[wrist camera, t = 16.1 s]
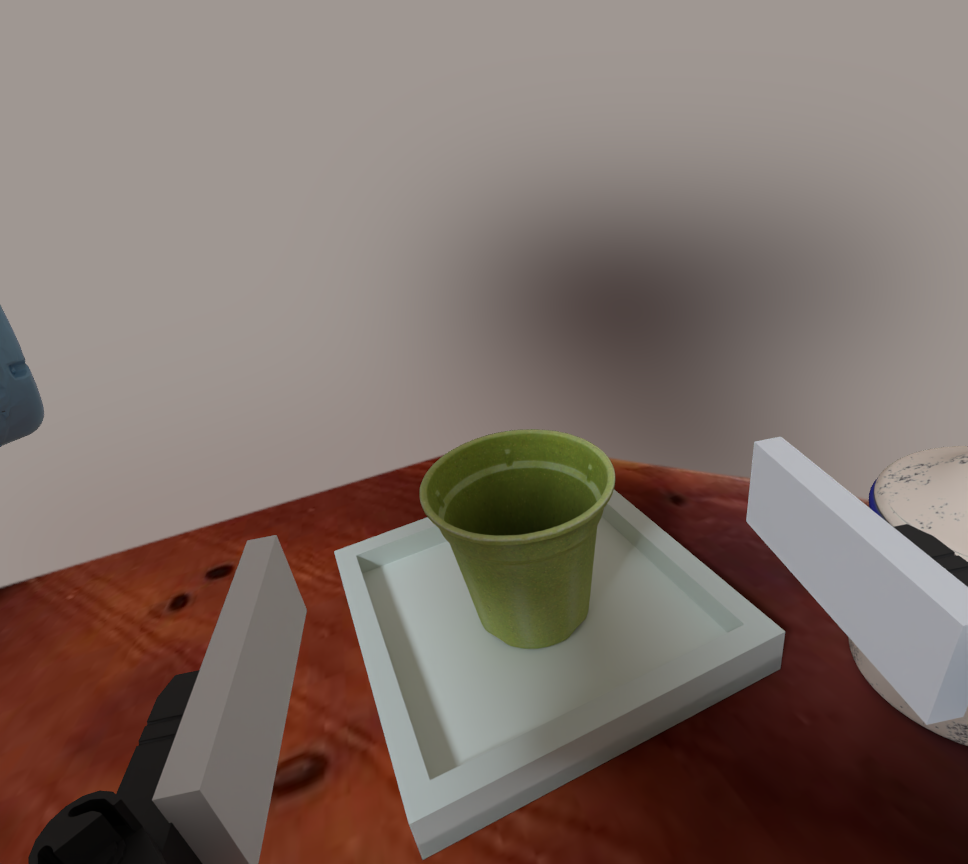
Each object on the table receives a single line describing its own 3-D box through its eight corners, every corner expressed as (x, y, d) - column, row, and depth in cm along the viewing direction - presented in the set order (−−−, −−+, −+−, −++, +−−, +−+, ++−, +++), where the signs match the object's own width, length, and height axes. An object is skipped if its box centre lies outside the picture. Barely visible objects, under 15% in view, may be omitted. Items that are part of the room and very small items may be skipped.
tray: (344, 581, 38) (334, 551, 36) (582, 490, 42) (580, 461, 41) (422, 859, 22) (409, 824, 21) (780, 668, 27) (785, 631, 26)
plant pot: (596, 538, 36) (587, 416, 32) (646, 661, 28) (641, 516, 23) (449, 564, 36) (421, 445, 32) (454, 694, 28) (417, 555, 23)
